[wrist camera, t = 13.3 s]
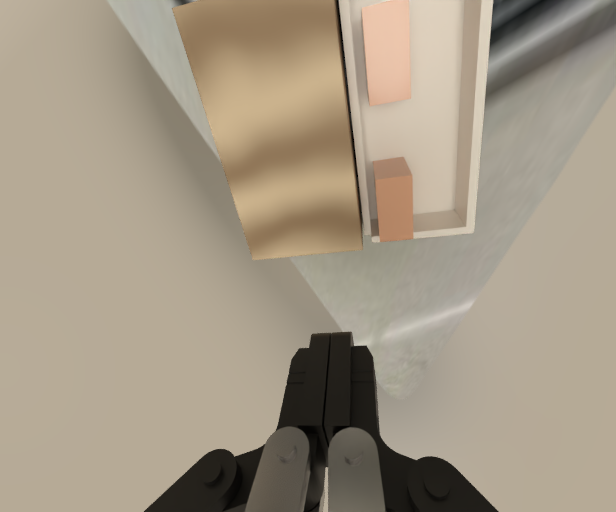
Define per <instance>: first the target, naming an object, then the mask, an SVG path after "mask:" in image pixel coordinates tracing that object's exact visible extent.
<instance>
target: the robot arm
mask: <svg viewBox="0 0 616 512" xmlns="http://www.w3.org/2000/svg"><path fill="white" fill-rule="evenodd" d="M325 467H328V512H498V511H497V510H496V509H495V508H494V507H493V506H492V505H491V504H490V503H489V502H488V501H487V500H486V499H485V497H484V496H483V495H481V494H480V492H479V491H477V490H476V488H475V487H474V486H473V485H472V484H471V483H469V481H468V480H467V479H466V478H465V477H464V476H463V475H462V474H461V473H460V472H459V471H458V470H457V469H456V468H455V467H454V466H452V465H451V464H450V463H448V462H447V461H445V460H443V459H441V458H437V457H432V456H431V457H423V458H420V459H418V460H414V459H412V458H409V457H406V456H404V455H401V454H399V453H396V452H395V451H393V450H392V449H390V448H389V447H388V446H387V445H386V444H385V443H384V441H383V440H382V438H381V436H380V432H379V416H378V401H377V387H376V377H375V370H374V362H373V356H372V355H371V353H370V351H369V349H368V348H367V346H354V342H353V336H352V332H337V333H318V334H312V335H311V341H310V346H309V348H300V349H298V351H297V352H296V354H295V355H294V357H293V358H292V360H291V365H290V370H289V375H288V379H287V385H286V389H285V394H284V398H283V403H282V408H281V413H280V418H279V422H278V426H277V429H276V431H275V432H274V433H273V434H272V435H271V436H270V437H269V439H268V440H267V442H266V444H264V445H263V446H262V447H260V448H258V449H256V450H253V451H250V452H247V453H244V454H241V455H239V456H235V457H234V455H233V454H232V453H231V452H230V451H227V450H225V449H216V450H213V451H211V452H209V453H207V454H206V455H204V456H203V457H202V458H201V459H200V460H199V461H198V462H197V463H196V464H194V465H193V466H192V467H191V468H190V469H189V470H188V471H187V472H186V473H185V474H184V475H183V476H182V477H180V478H179V479H178V480H177V481H176V482H175V483H174V484H173V485H172V486H171V487H170V488H169V489H168V490H167V491H165V492H164V493H163V494H162V495H161V496H160V497H159V498H158V499H157V500H156V501H155V502H154V503H153V504H151V505H150V506H149V507H148V508H147V509H146V510H145V511H144V512H323V506H324V498H325V490H324V480H325V479H324V478H325Z"/></svg>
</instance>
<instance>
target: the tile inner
mask: <svg viewBox="0 0 616 512" xmlns="http://www.w3.org/2000/svg"><path fill="white" fill-rule="evenodd" d="M361 27H362V39H363V51H364V63H365V74H366V86H367V98H368V102H369V106H374V105H380V104H385V103H390V102H396V101H401V100H406V99H411V69H410V23H409V0H390V1H386V2H382V3H378V4H374V5H370V6H366V7H363V8H362V9H361Z"/></svg>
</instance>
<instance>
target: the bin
mask: <svg viewBox="0 0 616 512" xmlns="http://www.w3.org/2000/svg"><path fill="white" fill-rule="evenodd" d="M386 1H390V0H339V8H340V17H341V26H342V35H343V44H344V53H345V62H346V71H347V80H348V90H349V99H350V108H351V117H352V126H353V135H354V144H355V153H356V162H357V171H358V180H359V189H360V198H361V207H362V216H363V225H364V234H365V235H371V236H372V243H376V242H380V238H379V230H378V222H377V213H376V200H375V187H374V174H373V161H377V160H384V159H391V158H397V157H404V159H405V161H406V163H407V165H408V167H409V169H410V171H411V173H412V178H413V239H417V238H427V237H437V236H447V235H458V234H468V233H474V226H475V213H476V201H477V189H478V177H479V165H480V153H481V141H482V129H483V117H484V104H485V92H486V80H487V68H488V56H489V44H490V32H491V20H492V8H493V0H409V23H410V69H411V99H406V100H401V101H396V102H390V103H385V104H380V105H374V106H369V102H368V98H367V86H366V74H365V63H364V51H363V39H362V27H361V9H362V8H363V7H366V6H370V5H374V4H378V3H382V2H386ZM386 242H387V241H386Z"/></svg>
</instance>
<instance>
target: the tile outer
mask: <svg viewBox="0 0 616 512" xmlns="http://www.w3.org/2000/svg"><path fill="white" fill-rule="evenodd" d="M373 174H374V187H375V200H376V213H377V222H378V230H379V238H380V242H386V241H397V240H407V239H413V178H412V173H411V171H410V169H409V167H408V165H407V163H406V161H405V159H404V157H397V158H391V159H384V160H377V161H373Z"/></svg>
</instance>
